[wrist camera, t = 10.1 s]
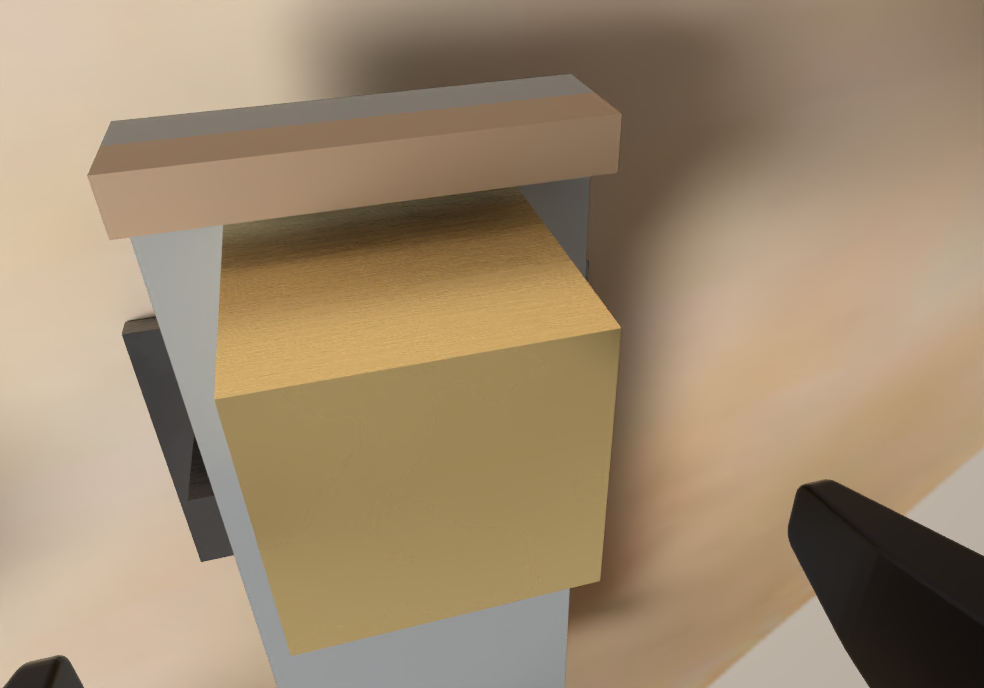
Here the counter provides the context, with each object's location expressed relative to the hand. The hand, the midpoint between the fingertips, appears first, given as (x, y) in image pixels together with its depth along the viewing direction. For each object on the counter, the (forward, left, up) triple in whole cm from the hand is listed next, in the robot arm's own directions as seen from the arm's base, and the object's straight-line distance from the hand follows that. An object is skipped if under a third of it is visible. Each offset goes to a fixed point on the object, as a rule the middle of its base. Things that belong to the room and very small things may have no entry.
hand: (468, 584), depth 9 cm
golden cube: (0, 0, -7) cm, 7 cm away
